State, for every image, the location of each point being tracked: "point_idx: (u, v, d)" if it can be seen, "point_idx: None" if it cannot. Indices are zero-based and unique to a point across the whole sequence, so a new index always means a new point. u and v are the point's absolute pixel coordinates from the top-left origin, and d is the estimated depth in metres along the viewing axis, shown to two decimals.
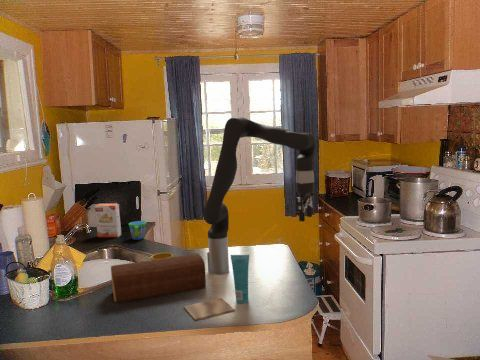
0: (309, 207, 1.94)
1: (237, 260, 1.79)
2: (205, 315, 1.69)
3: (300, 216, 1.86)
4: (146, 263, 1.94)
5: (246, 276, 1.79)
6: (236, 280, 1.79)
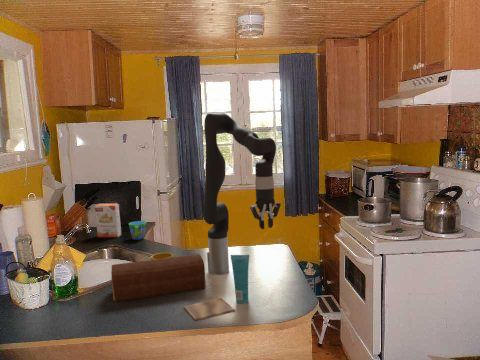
0: (269, 217, 1.87)
1: (237, 260, 1.79)
2: (205, 315, 1.69)
3: (259, 223, 1.86)
4: (146, 263, 1.94)
5: (246, 276, 1.79)
6: (236, 280, 1.79)
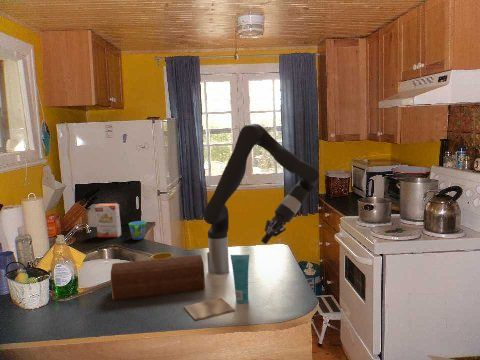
0: None
1: (237, 260, 1.79)
2: (205, 315, 1.69)
3: (267, 238, 1.82)
4: (146, 262, 1.95)
5: (246, 276, 1.79)
6: (236, 280, 1.79)
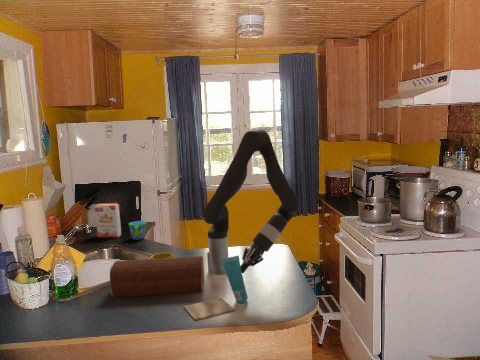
0: None
1: (228, 263, 1.77)
2: (205, 315, 1.69)
3: (245, 267, 1.79)
4: (146, 261, 1.96)
5: (240, 276, 1.77)
6: (231, 282, 1.78)
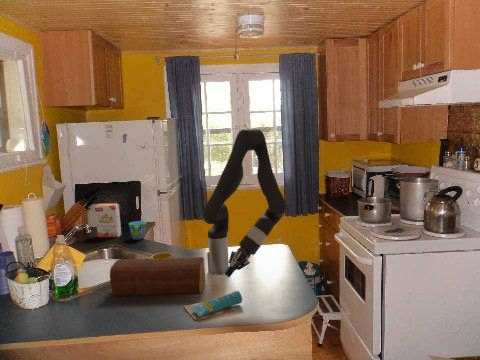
0: None
1: None
2: (205, 315, 1.69)
3: (231, 271, 1.77)
4: (146, 261, 1.96)
5: (218, 310, 1.71)
6: None
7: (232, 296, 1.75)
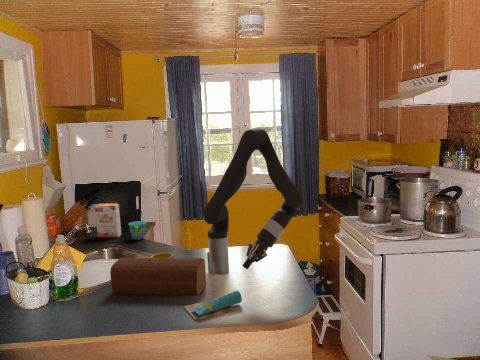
0: None
1: None
2: (205, 315, 1.69)
3: (249, 263, 1.80)
4: (146, 260, 1.97)
5: (217, 309, 1.71)
6: None
7: (231, 295, 1.75)
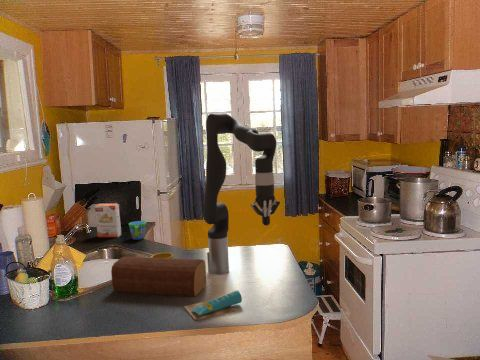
0: None
1: None
2: (205, 315, 1.69)
3: (262, 220, 1.84)
4: (147, 260, 1.98)
5: (217, 309, 1.71)
6: None
7: (231, 295, 1.75)
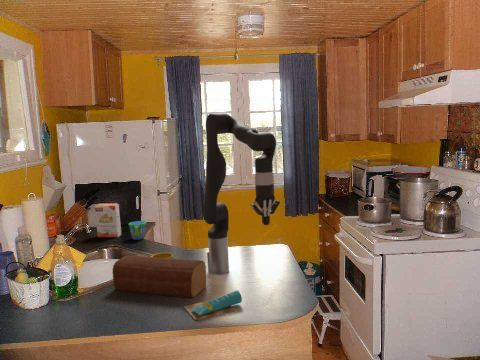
0: (266, 213, 1.84)
1: None
2: (205, 315, 1.69)
3: (262, 219, 1.84)
4: (147, 259, 1.98)
5: (217, 309, 1.71)
6: None
7: (231, 295, 1.75)
